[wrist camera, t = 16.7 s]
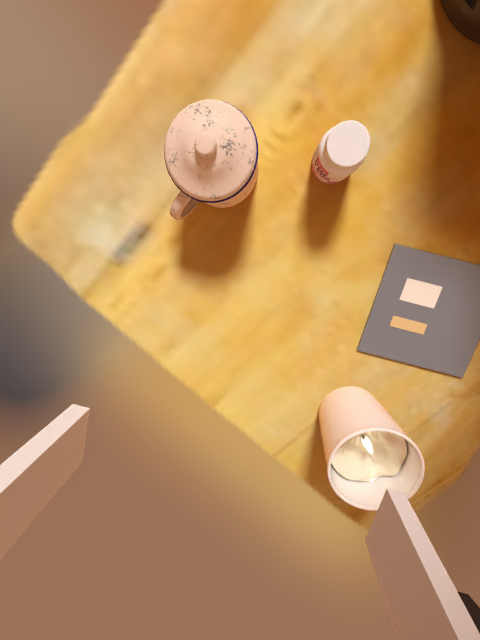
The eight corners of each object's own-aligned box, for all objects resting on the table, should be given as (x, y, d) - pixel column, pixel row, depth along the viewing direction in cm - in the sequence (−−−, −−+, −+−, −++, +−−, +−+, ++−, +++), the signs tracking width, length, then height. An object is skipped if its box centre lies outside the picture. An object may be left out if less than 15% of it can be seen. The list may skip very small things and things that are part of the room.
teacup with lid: (216, 111, 39) (195, 58, 28) (275, 164, 40) (278, 134, 28) (156, 196, 42) (115, 180, 30) (213, 244, 42) (193, 245, 31)
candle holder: (397, 427, 46) (440, 490, 35) (331, 454, 48) (352, 523, 36) (366, 368, 45) (401, 413, 33) (300, 399, 46) (311, 452, 35)
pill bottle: (303, 174, 40) (312, 157, 31) (323, 133, 38) (338, 105, 30) (339, 191, 40) (357, 179, 32) (360, 151, 39) (384, 128, 30)
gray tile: (394, 243, 41) (395, 243, 40) (507, 272, 40) (509, 272, 40) (356, 349, 44) (357, 350, 44) (461, 376, 44) (462, 377, 43)
